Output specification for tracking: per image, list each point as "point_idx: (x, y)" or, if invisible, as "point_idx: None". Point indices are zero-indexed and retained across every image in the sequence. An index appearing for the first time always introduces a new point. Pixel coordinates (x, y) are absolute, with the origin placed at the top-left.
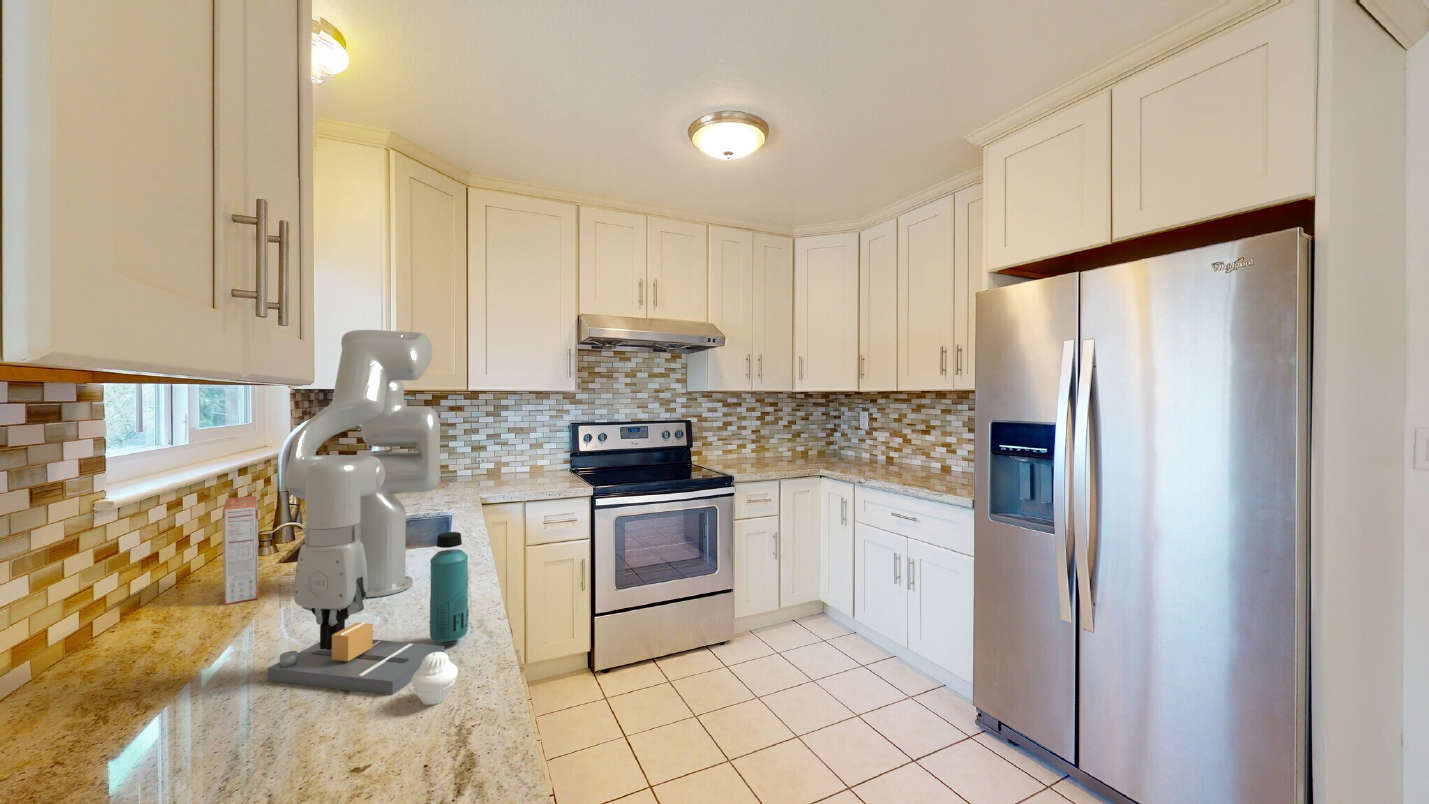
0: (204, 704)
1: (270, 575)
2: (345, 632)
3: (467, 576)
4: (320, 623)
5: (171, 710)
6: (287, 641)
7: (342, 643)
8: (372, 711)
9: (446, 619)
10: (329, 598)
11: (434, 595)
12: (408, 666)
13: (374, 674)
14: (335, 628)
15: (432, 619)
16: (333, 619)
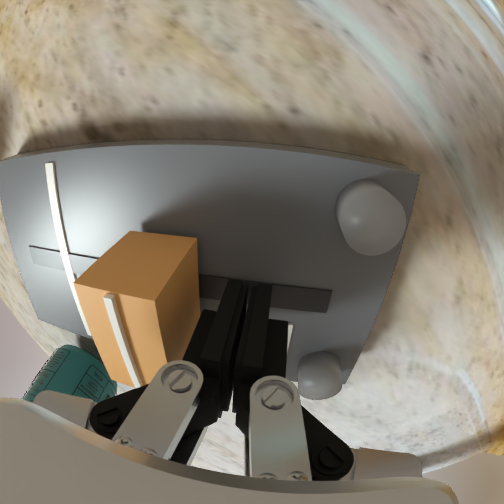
0: (457, 39)
1: (499, 444)
2: (109, 316)
3: None
4: (273, 383)
5: (496, 30)
6: (455, 362)
7: (117, 268)
8: (13, 93)
9: (40, 377)
10: (38, 501)
11: None
12: (13, 230)
13: (32, 179)
14: (190, 356)
15: (66, 388)
16: (162, 389)
